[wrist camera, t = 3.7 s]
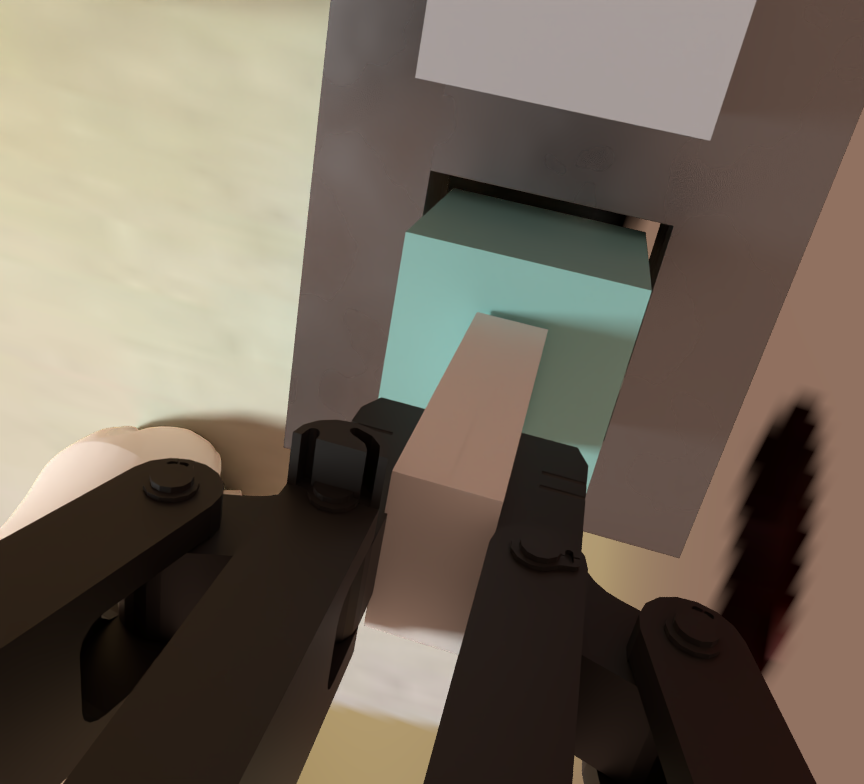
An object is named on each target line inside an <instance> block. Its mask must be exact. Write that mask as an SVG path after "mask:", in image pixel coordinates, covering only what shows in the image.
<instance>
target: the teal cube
mask: <svg viewBox="0 0 864 784" xmlns="http://www.w3.org/2000/svg"><path fill="white" fill-rule="evenodd" d="M651 292H652V288H651V279H650V269H649V260H648V251H647V242H646V232H642V231H638V230H634V229H629V228H625V227H621V226H616V225H612V224H608V223H603V222H599V221H595V220H590V219H586V218H582V217H577V216H573V215H568V214H564V213H560V212H555V211H551V210H547V209H542V208H538V207H534V206H529V205H525V204H521V203H516V202H512V201H508V200H503V199H499V198H495V197H490V196H486V195H482V194H477V193H473V192H469V191H464V190H460V189H456V188H453V189H452V190H451V191H450V192H449V193H448V194H447V195H446V196H445V197H444V198H442V199H441V200H440V201H439V202H438V203H437V204H436V205H435V206H434V207H433V208H431V209H430V210H429V211H428V212H427V213H426V214H425V215H424V216H423V217H421V218H420V219H419V220H418V221H417V222H416V223H415V224H414V225H413V226H412V227H410V228H409V229H408V230H407V231H406V233H405V239H404V245H403V251H402V257H401V263H400V269H399V276H398V282H397V288H396V294H395V300H394V306H393V312H392V318H391V324H390V330H389V336H388V342H387V348H386V354H385V360H384V366H383V373H382V379H381V385H380V391H379V397H378V399H379V398H381V397H382V398H386V399H390V400H394V401H397V402H401V403H405V404H409V405H412V406H416V407H420V408H423V409H425V408H426V407H427V405H428V403H429V401H430V399H431V397H432V395H433V393H434V392H435V390H436V388H437V386H438V384H439V382H440V380H441V378H442V377H443V375H444V373H445V371H446V369H447V367H448V365H449V363H450V362H451V360H452V358H453V356H454V354H455V352H456V350H457V348H458V347H459V345H460V343H461V341H462V339H463V337H464V335H465V333H466V332H467V330H468V328H469V326H470V324H471V322H472V320H473V319H474V317H475V315H476V313H477V312H479V313H483V314H487V315H491V316H495V317H499V318H503V319H507V320H511V321H515V322H519V323H523V324H527V325H531V326H535V327H539V328H543V329H547V330H548V332H547V336H546V340H545V344H544V347H543V351H542V355H541V359H540V363H539V367H538V371H537V374H536V378H535V382H534V386H533V390H532V394H531V398H530V401H529V405H528V409H527V413H526V417H525V421H524V425H523V428H522V432H521V433H525V434H529V435H532V436H536V437H540V438H544V439H547V440H551V441H555V442H559V443H562V444H566V445H570V446H574V447H577V448H578V449H579V451H580V452H581V454H582V456H583V457H584V459H585V461H586V462H587V464H588V477H587V485H586V486H587V489H588V486H589V483H590V480H591V477H592V474H593V471H594V468H595V465H596V462H597V458H598V455H599V452H600V449H601V446H602V443H603V440H604V437H605V434H606V431H607V428H608V424H609V421H610V418H611V415H612V412H613V409H614V406H615V403H616V400H617V397H618V394H619V390H620V387H621V384H622V381H623V378H624V375H625V372H626V369H627V366H628V363H629V360H630V356H631V353H632V350H633V347H634V344H635V341H636V338H637V335H638V332H639V329H640V326H641V322H642V319H643V316H644V313H645V310H646V307H647V304H648V301H649V298H650V295H651ZM587 489H586V492H587Z"/></svg>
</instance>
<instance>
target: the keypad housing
mask: <svg viewBox="0 0 864 784" xmlns="http://www.w3.org/2000/svg"><path fill="white" fill-rule="evenodd" d="M426 5H427V0H331V2H330V12H329V21H328V31H327V40H326V50H325V59H324V69H323V78H322V88H321V97H320V107H319V116H318V126H317V135H316V145H315V154H314V164H313V173H312V183H311V192H310V202H309V211H308V220H307V230H306V239H305V249H304V258H303V268H302V277H301V287H300V296H299V306H298V315H297V325H296V334H295V344H294V353H293V363H292V372H291V382H290V391H289V401H288V410H287V420H286V429H285V439H284V448H288V449H291V444H292V435H293V431H295V430H296V429H298V428H299V427H300V426H302V425H303V424H307V423H310V422H314V421H318V420H342V421H348V422H351V421H352V419H353V418H354V417H355V415H356V414H357V412H358V411H359V409H360V408H361V407H362V406H364V405H366V404H368V403H370V402H372V401H375V400H377V399H378V397H379V391H380V385H381V379H382V373H383V366H384V360H385V354H386V348H387V342H388V336H389V330H390V324H391V318H392V312H393V306H394V300H395V294H396V288H397V282H398V276H399V269H400V263H401V257H402V251H403V245H404V239H405V233H406V231H407V230H408V229H409V228H410V227H412V226H413V225H414V224H415V223H416V222H417V221H418V220H419V219H420V218H421V217H423V216H424V215H425V214H426V213H427V212H428V211H429V210H430V209H431V208H433V207H434V206H435V205H436V204H437V203H438V202H439V201H440V200H441V199H442V198H444V197H445V196H446V195H447V190H448V184H449V179H450V175H453V176H457V177H462V178H466V179H470V180H475V181H479V182H483V183H488V184H492V185H497V186H501V187H505V188H510V189H514V190H519V191H523V192H527V193H532V194H536V195H540V196H545V197H549V198H554V199H558V200H562V201H567V202H571V203H575V204H580V205H584V206H589V207H593V208H597V209H602V210H606V211H610V212H615V213H619V214H624V215H628V216H632V217H637V218H641V219H646V220H650V221H655V222H659V223H661V224H660V227H659V230H658V233H657V237H656V240H655V243H654V246H653V249H652V252H651V256H650V259H649V269H650V279H651V288H652V292H651V295H650V298H649V301H648V304H647V307H646V310H645V313H644V316H643V319H642V322H641V326H640V329H639V332H638V335H637V338H636V341H635V344H634V347H633V350H632V353H631V356H630V360H629V363H628V366H627V369H626V372H625V375H624V378H623V381H622V384H621V387H620V390H619V394H618V397H617V400H616V403H615V406H614V409H613V412H612V415H611V418H610V421H609V424H608V428H607V431H606V434H605V437H604V440H603V443H602V446H601V449H600V452H599V455H598V458H597V462H596V465H595V468H594V471H593V474H592V477H591V480H590V483H589V486H588V489H587V492H586V498H585V513H584V525H583V531H584V532H588V533H592V534H595V535H598V536H602V537H605V538H609V539H613V540H616V541H620V542H624V543H627V544H630V545H634V546H638V547H641V548H645V549H648V550H652V551H655V552H659V553H663V554H666V555H670V556H673V557H677V558H680V555H681V553H682V550H683V548H684V545H685V543H686V540H687V538H688V536H689V533H690V530H691V528H692V526H693V523H694V521H695V518H696V516H697V513H698V511H699V509H700V506H701V504H702V501H703V499H704V496H705V494H706V491H707V489H708V487H709V484H710V482H711V479H712V476H713V474H714V471H715V469H716V467H717V464H718V462H719V460H720V457H721V455H722V452H723V450H724V447H725V445H726V442H727V440H728V437H729V435H730V433H731V430H732V428H733V425H734V423H735V420H736V418H737V415H738V413H739V410H740V408H741V406H742V403H743V401H744V398H745V396H746V393H747V391H748V389H749V386H750V384H751V381H752V379H753V376H754V374H755V371H756V369H757V366H758V364H759V362H760V359H761V356H762V354H763V352H764V349H765V347H766V345H767V342H768V339H769V337H770V335H771V332H772V330H773V327H774V325H775V322H776V320H777V318H778V315H779V313H780V310H781V308H782V305H783V303H784V300H785V298H786V296H787V293H788V291H789V288H790V286H791V283H792V281H793V278H794V276H795V273H796V271H797V269H798V266H799V263H800V261H801V258H802V256H803V254H804V251H805V249H806V247H807V244H808V242H809V239H810V237H811V234H812V232H813V229H814V227H815V224H816V222H817V219H818V217H819V215H820V212H821V210H822V207H823V205H824V203H825V200H826V197H827V195H828V193H829V190H830V188H831V185H832V183H833V180H834V178H835V176H836V173H837V171H838V168H839V166H840V163H841V161H842V158H843V156H844V154H845V151H846V149H847V146H848V144H849V141H850V139H851V136H852V134H853V131H854V129H855V126H856V124H857V122H858V119H859V116H860V114H861V112H862V109H863V107H864V0H756V3H755V6H754V9H753V12H752V16H751V19H750V22H749V25H748V28H747V31H746V34H745V37H744V40H743V43H742V46H741V49H740V52H739V55H738V58H737V61H736V64H735V67H734V70H733V73H732V76H731V79H730V82H729V85H728V88H727V91H726V94H725V98H724V101H723V104H722V107H721V110H720V113H719V116H718V119H717V122H716V125H715V128H714V131H713V134H712V137H711V140H710V141H709V140H704V139H699V138H695V137H690V136H685V135H680V134H676V133H671V132H666V131H662V130H657V129H652V128H648V127H643V126H638V125H634V124H629V123H624V122H620V121H615V120H610V119H606V118H601V117H596V116H592V115H587V114H582V113H578V112H573V111H568V110H564V109H559V108H554V107H550V106H545V105H540V104H535V103H531V102H526V101H521V100H517V99H512V98H507V97H503V96H498V95H493V94H489V93H484V92H479V91H475V90H470V89H465V88H461V87H456V86H451V85H447V84H442V83H437V82H433V81H428V80H423V79H419V78H415V76H416V69H417V63H418V56H419V50H420V44H421V37H422V31H423V24H424V18H425V12H426Z"/></svg>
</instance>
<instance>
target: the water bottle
mask: <svg viewBox="0 0 864 784" xmlns="http://www.w3.org/2000/svg"><path fill="white" fill-rule="evenodd" d="M166 458H179V459H190V460H193V461H196V462H199V463H202V464H205V465H207V466H209V467H210V468H212V469H213V470H215V471H216V472H217V473H219V475H220V473H221V457H220V454H219V453H218V452H216V450H215V448H214V447H213V446H212V444H211V443H210V442H209V441H207V440H206V439H204V438H203V437H201V436H200V435H198V434H196V433H194V432H193V431H191V430H189V429H184V428H178V427H167V426H159V427H150V428H145V429H141V430H138V429H137V428H136V427H132V426H122V427H112V428H105V429H102V430H99V431H97V432H94V433H92V434H90V435H88V436H86V437H84V438H82V439H80V440H78V441H76V442H75V443H73V444H72V445H70V446H68V447H67V448H65V449H63V450H62V451H61V452H59V453H58V454H57V455H56V456H55V457H53V458H52V459H51V460H50V461H49V462H48V463H47V465H46V466H45V467H44V468H43V469H42V471H41V473H40V474H39V476H38V477H37V479H36V481H35V482H34V484H33V485H32V487H31V489H30V490H29V492H28V493H27V495H26V497H25V498H24V499H23V501H22V502H21V503H20V505H19V506H18V507H17V509H16V510H15V511H14V513H13V514H12V515H11V516H10V518H9V519H8V520H7V521H6V523H5V524H4V525H3V526H2V527H1V528H0V540H1V539H3V538H5V537H7V536H9V535H10V534H12V533H14V532H16V531H18V530H20V529H21V528H23V527H25V526H27V525H29V524H30V523H32V522H34V521H36V520H38V519H40V518H41V517H43V516H45V515H47V514H49V513H51V512H52V511H54V510H56V509H58V508H60V507H61V506H63V505H65V504H67V503H69V502H71V501H72V500H74V499H76V498H78V497H80V496H82V495H83V494H85V493H87V492H89V491H91V490H92V489H94V488H96V487H98V486H100V485H102V484H103V483H105V482H107V481H109V480H111V479H112V478H114V477H116V476H118V475H120V474H122V473H123V472H125V471H127V470H129V469H131V468H133V467H135V466H137V465H140V464H143V463H145V462H148V461H151V460H158V459H166ZM223 494H229V495H242V492H241V490H224V491H223ZM66 779H67V778H66ZM66 779H65V780H66ZM65 780H64V781H65ZM64 781H63V782H62V783H61V784H63V783H64Z"/></svg>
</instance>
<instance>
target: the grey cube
mask: <svg viewBox="0 0 864 784" xmlns="http://www.w3.org/2000/svg"><path fill="white" fill-rule="evenodd" d="M755 3H756V0H427V5H426V12H425V18H424V24H423V31H422V37H421V44H420V50H419V56H418V63H417V69H416V76H415V78H419V79H423V80H428V81H433V82H437V83H442V84H447V85H451V86H456V87H461V88H465V89H470V90H475V91H479V92H484V93H489V94H493V95H498V96H503V97H507V98H512V99H517V100H521V101H526V102H531V103H535V104H540V105H545V106H550V107H554V108H559V109H564V110H568V111H573V112H578V113H582V114H587V115H592V116H596V117H601V118H606V119H610V120H615V121H620V122H624V123H629V124H634V125H638V126H643V127H648V128H652V129H657V130H662V131H666V132H671V133H676V134H680V135H685V136H690V137H695V138H699V139H704V140H709V141H710V140H711V137H712V134H713V131H714V128H715V125H716V122H717V119H718V116H719V113H720V110H721V107H722V104H723V101H724V98H725V94H726V91H727V88H728V85H729V82H730V79H731V76H732V73H733V70H734V67H735V64H736V61H737V58H738V55H739V52H740V49H741V46H742V43H743V40H744V37H745V34H746V31H747V28H748V25H749V22H750V19H751V16H752V12H753V9H754V6H755Z"/></svg>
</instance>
